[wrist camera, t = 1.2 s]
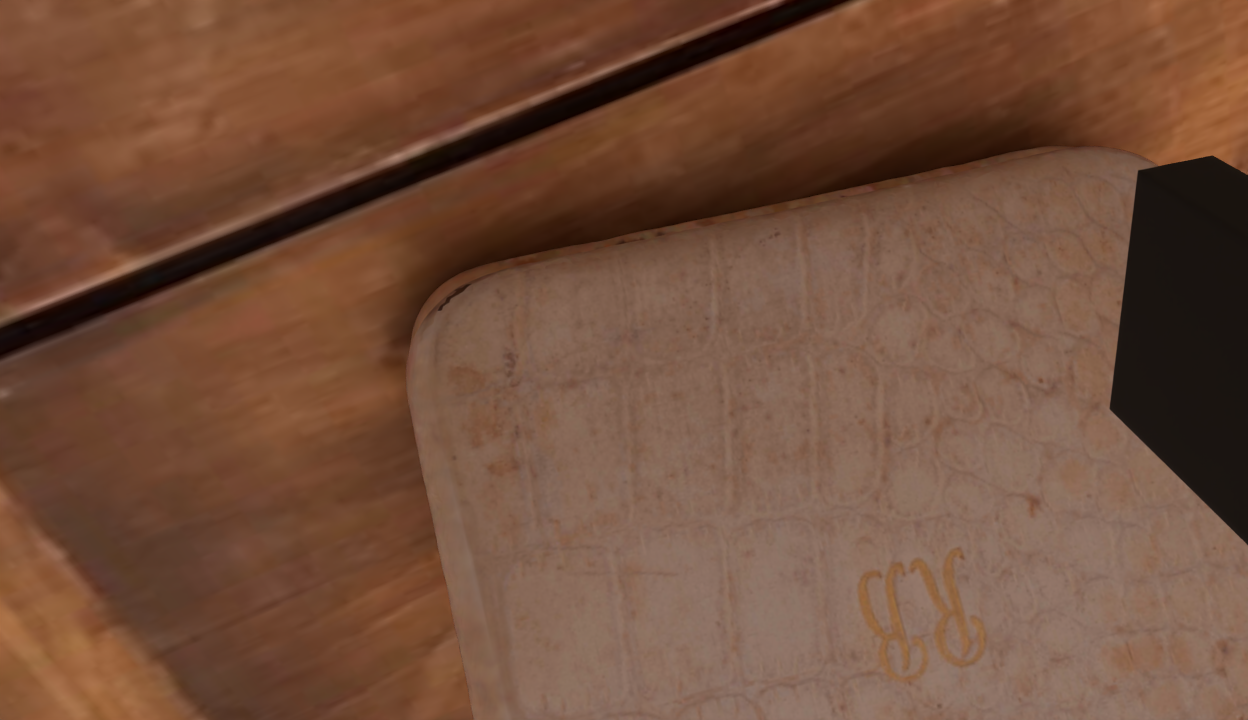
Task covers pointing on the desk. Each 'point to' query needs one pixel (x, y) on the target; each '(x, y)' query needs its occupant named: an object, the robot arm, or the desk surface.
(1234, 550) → the case
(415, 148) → the desk surface
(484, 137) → the desk surface
